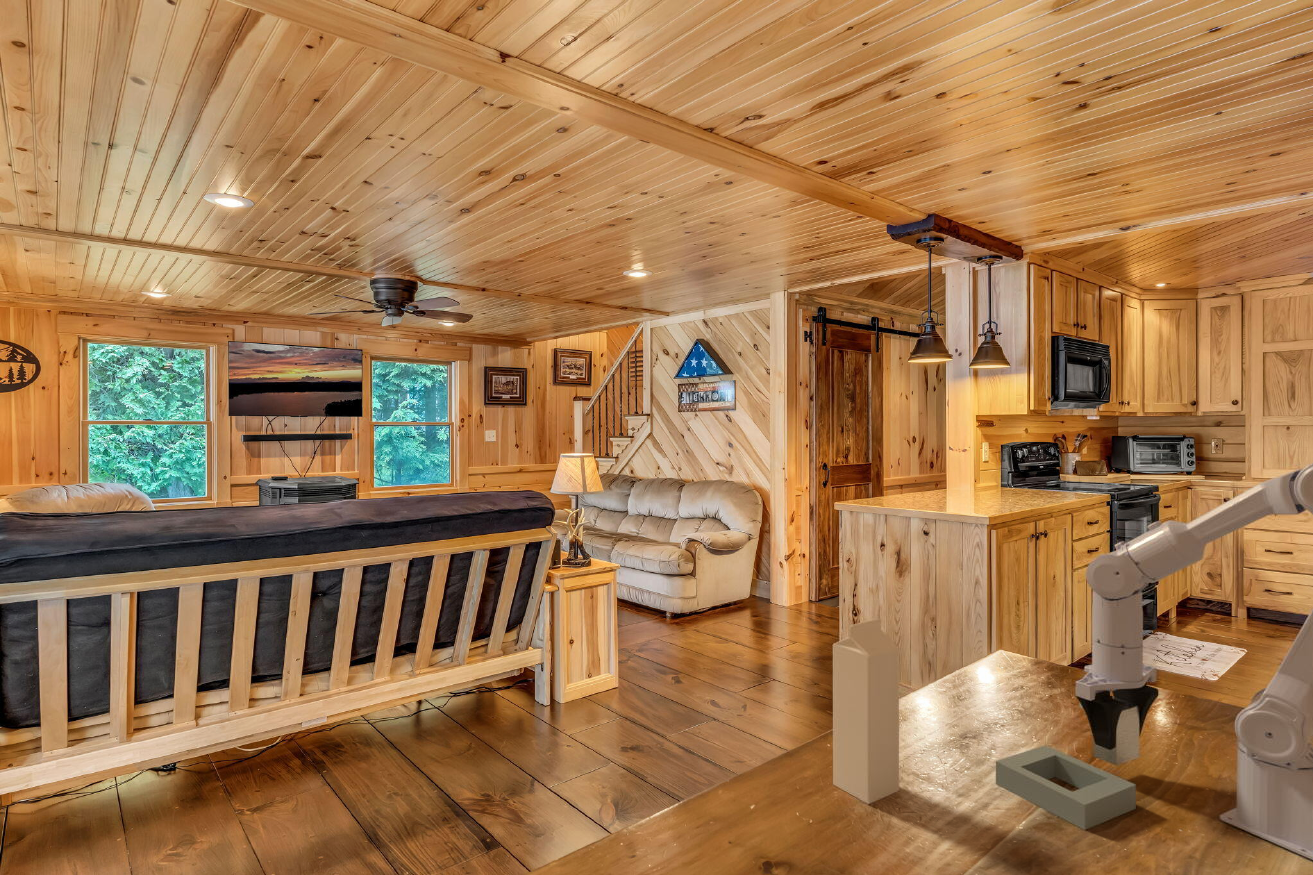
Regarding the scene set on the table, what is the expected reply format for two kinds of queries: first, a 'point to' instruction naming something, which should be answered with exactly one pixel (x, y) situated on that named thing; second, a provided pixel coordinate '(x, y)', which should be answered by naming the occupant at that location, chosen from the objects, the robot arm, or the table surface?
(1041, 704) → the table surface
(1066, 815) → the well block
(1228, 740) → the table surface
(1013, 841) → the table surface
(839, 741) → the milk
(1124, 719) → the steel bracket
